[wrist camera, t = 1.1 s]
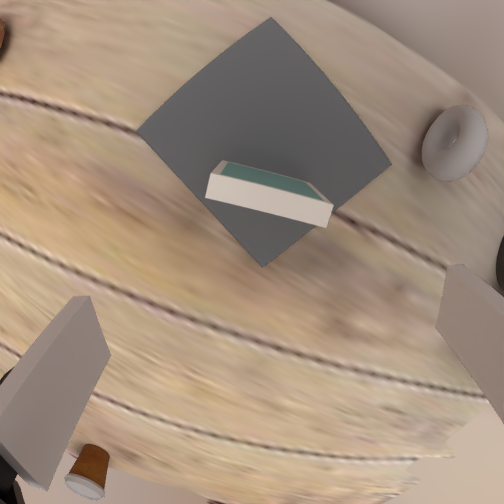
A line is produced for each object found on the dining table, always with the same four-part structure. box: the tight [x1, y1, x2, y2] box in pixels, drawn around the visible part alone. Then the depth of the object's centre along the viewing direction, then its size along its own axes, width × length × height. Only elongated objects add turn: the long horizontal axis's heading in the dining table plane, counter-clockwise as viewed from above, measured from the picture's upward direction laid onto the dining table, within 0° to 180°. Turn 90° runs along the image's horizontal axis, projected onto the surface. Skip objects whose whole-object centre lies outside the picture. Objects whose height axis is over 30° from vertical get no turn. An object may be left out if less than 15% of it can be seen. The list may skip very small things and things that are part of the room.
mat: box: [136, 17, 392, 268], centre depth 34 cm, size 22×20×1 cm
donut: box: [422, 105, 488, 181], centre depth 29 cm, size 10×4×10 cm, turn 153°
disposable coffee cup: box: [65, 444, 109, 501], centre depth 51 cm, size 10×10×12 cm
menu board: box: [205, 160, 334, 228], centre depth 30 cm, size 2×10×11 cm, turn 75°
